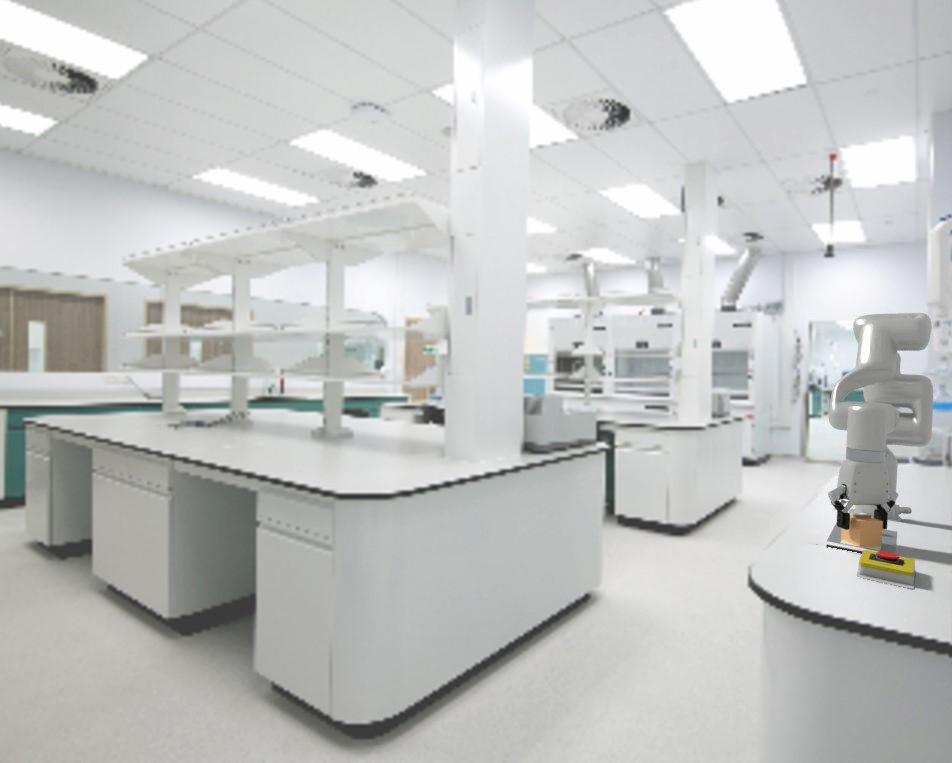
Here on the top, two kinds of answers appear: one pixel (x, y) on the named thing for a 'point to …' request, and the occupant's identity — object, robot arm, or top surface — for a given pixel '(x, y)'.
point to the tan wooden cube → (863, 531)
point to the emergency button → (887, 568)
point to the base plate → (887, 546)
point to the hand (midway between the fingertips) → (861, 527)
